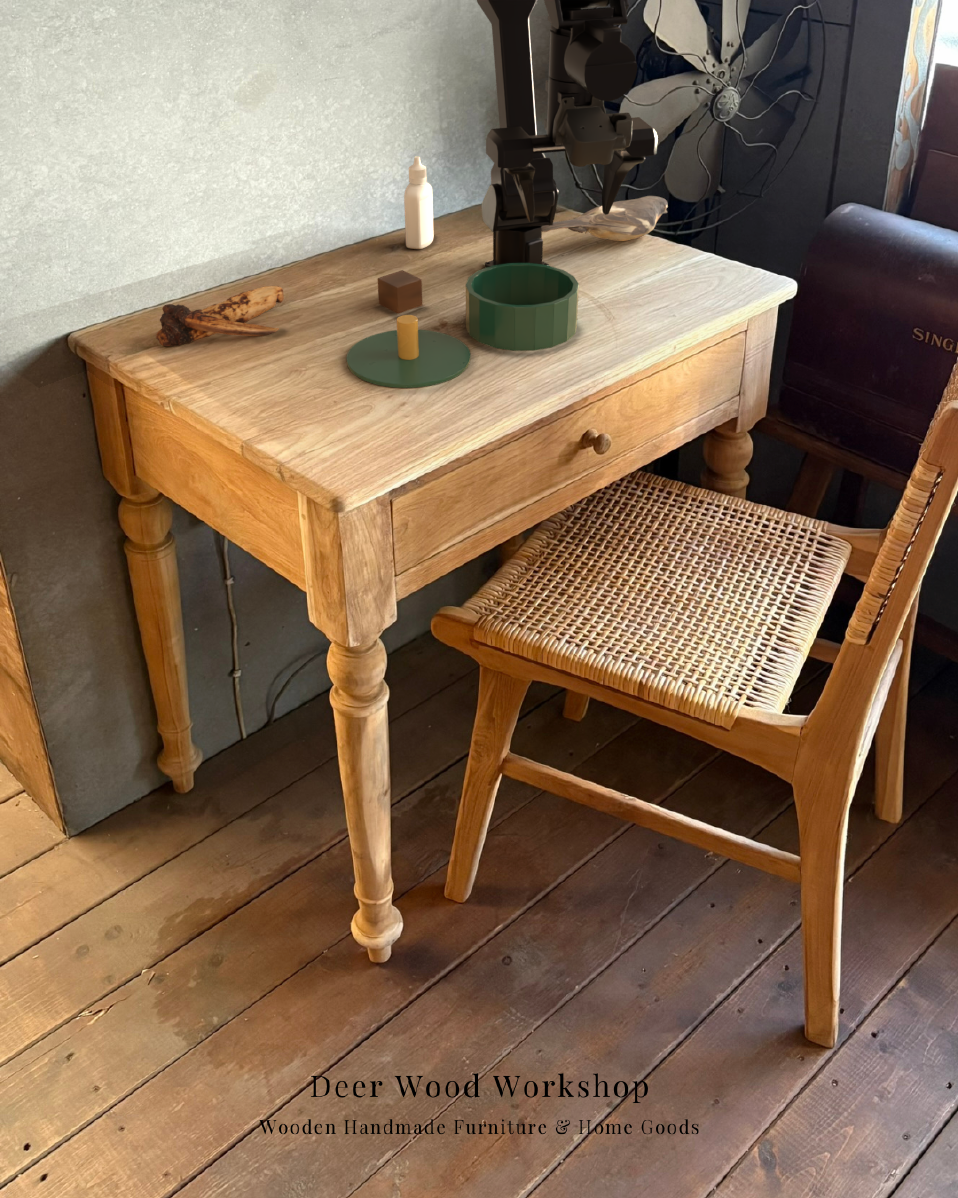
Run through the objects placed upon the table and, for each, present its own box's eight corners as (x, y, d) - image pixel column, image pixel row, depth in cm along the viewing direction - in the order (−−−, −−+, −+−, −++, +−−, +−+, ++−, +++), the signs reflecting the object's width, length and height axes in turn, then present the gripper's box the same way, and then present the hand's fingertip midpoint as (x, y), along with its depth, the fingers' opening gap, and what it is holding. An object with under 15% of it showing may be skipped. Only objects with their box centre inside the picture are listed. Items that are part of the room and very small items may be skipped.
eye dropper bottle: (444, 242, 170) (443, 156, 162) (414, 252, 167) (411, 165, 159) (425, 233, 172) (422, 148, 165) (394, 243, 169) (391, 157, 162)
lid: (322, 361, 140) (318, 316, 136) (418, 327, 147) (416, 283, 144) (398, 405, 131) (396, 358, 128) (496, 366, 138) (496, 321, 135)
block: (378, 307, 152) (377, 277, 149) (403, 299, 154) (402, 269, 151) (398, 317, 149) (396, 287, 147) (422, 309, 151) (422, 278, 149)
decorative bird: (684, 232, 173) (688, 197, 170) (553, 271, 161) (554, 234, 158) (654, 219, 177) (657, 185, 174) (523, 256, 165) (524, 221, 162)
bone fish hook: (190, 371, 139) (313, 322, 148) (184, 334, 136) (310, 287, 145) (147, 343, 144) (269, 298, 153) (140, 307, 141) (265, 263, 150)
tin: (443, 328, 147) (442, 282, 143) (524, 299, 154) (525, 254, 150) (517, 365, 139) (518, 317, 135) (599, 332, 146) (602, 285, 142)
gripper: (512, 102, 122) (510, 250, 131) (683, 89, 126) (668, 234, 135) (484, 74, 130) (484, 215, 140) (644, 63, 134) (633, 201, 144)
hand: (568, 217), depth 139 cm, fingers open, 9 cm apart
